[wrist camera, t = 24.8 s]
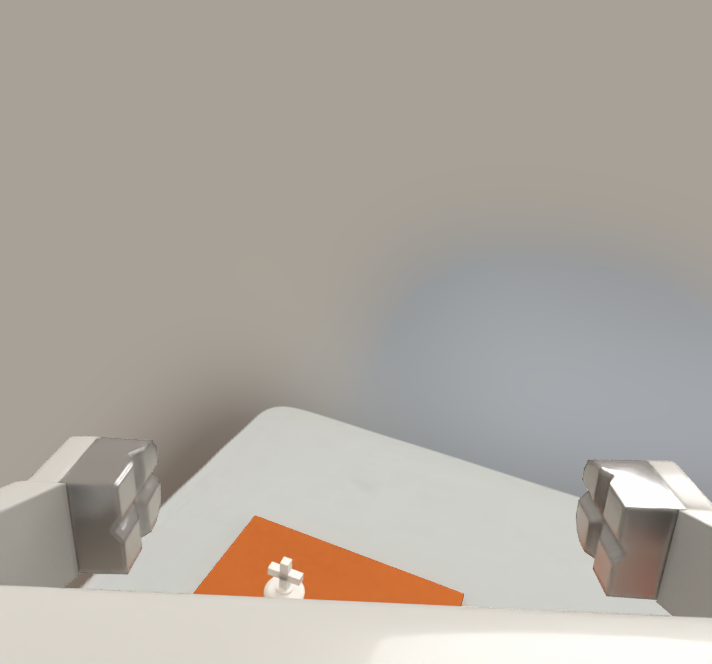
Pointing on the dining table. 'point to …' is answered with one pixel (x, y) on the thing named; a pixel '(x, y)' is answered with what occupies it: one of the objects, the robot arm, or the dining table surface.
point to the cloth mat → (316, 570)
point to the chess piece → (284, 581)
